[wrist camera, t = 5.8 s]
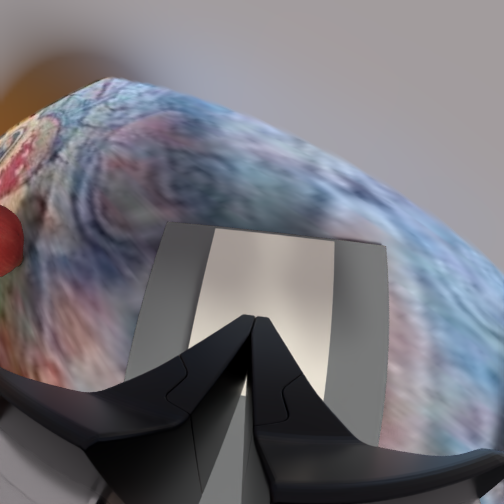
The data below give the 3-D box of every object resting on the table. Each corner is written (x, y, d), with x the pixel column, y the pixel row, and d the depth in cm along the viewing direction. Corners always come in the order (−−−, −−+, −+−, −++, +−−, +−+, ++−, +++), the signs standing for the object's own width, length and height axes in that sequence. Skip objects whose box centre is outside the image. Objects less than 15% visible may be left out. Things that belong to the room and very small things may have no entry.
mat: (350, 539, 9) (352, 542, 8) (111, 500, 10) (109, 502, 10) (383, 248, 18) (385, 246, 17) (168, 224, 19) (167, 221, 19)
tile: (322, 403, 12) (334, 241, 16) (181, 383, 13) (215, 228, 17) (317, 402, 13) (329, 254, 17) (189, 384, 14) (219, 241, 18)
